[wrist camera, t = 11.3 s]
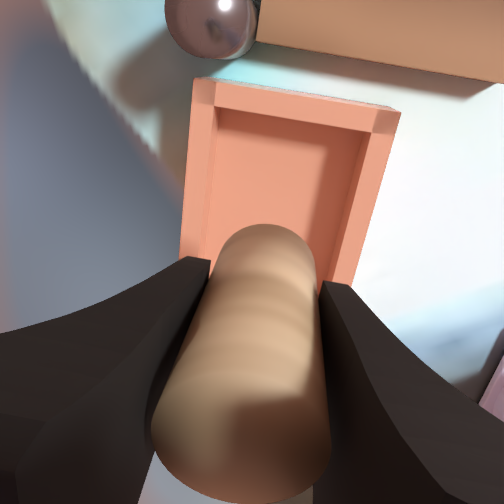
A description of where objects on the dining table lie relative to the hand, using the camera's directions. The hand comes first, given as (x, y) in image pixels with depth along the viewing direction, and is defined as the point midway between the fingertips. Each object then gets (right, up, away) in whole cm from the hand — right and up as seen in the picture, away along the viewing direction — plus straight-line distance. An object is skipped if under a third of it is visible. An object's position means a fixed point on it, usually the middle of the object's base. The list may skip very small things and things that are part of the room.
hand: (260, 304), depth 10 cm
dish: (+1, +3, +8) cm, 8 cm away
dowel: (0, +1, +1) cm, 2 cm away
